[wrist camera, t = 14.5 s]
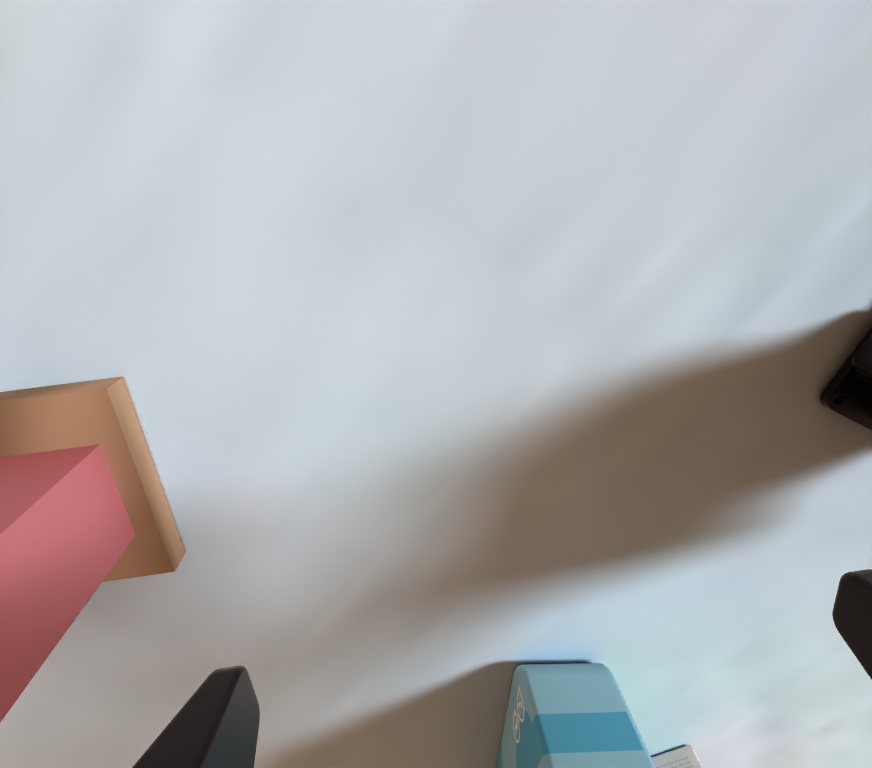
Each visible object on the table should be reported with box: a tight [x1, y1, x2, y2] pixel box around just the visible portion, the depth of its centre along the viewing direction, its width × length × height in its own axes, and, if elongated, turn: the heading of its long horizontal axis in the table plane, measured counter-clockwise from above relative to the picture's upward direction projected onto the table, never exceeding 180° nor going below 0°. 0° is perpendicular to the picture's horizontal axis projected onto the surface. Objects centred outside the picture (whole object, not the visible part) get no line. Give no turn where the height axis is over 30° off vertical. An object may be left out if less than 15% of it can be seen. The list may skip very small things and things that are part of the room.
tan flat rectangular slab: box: [0, 377, 186, 582], centre depth 20 cm, size 10×8×1 cm
